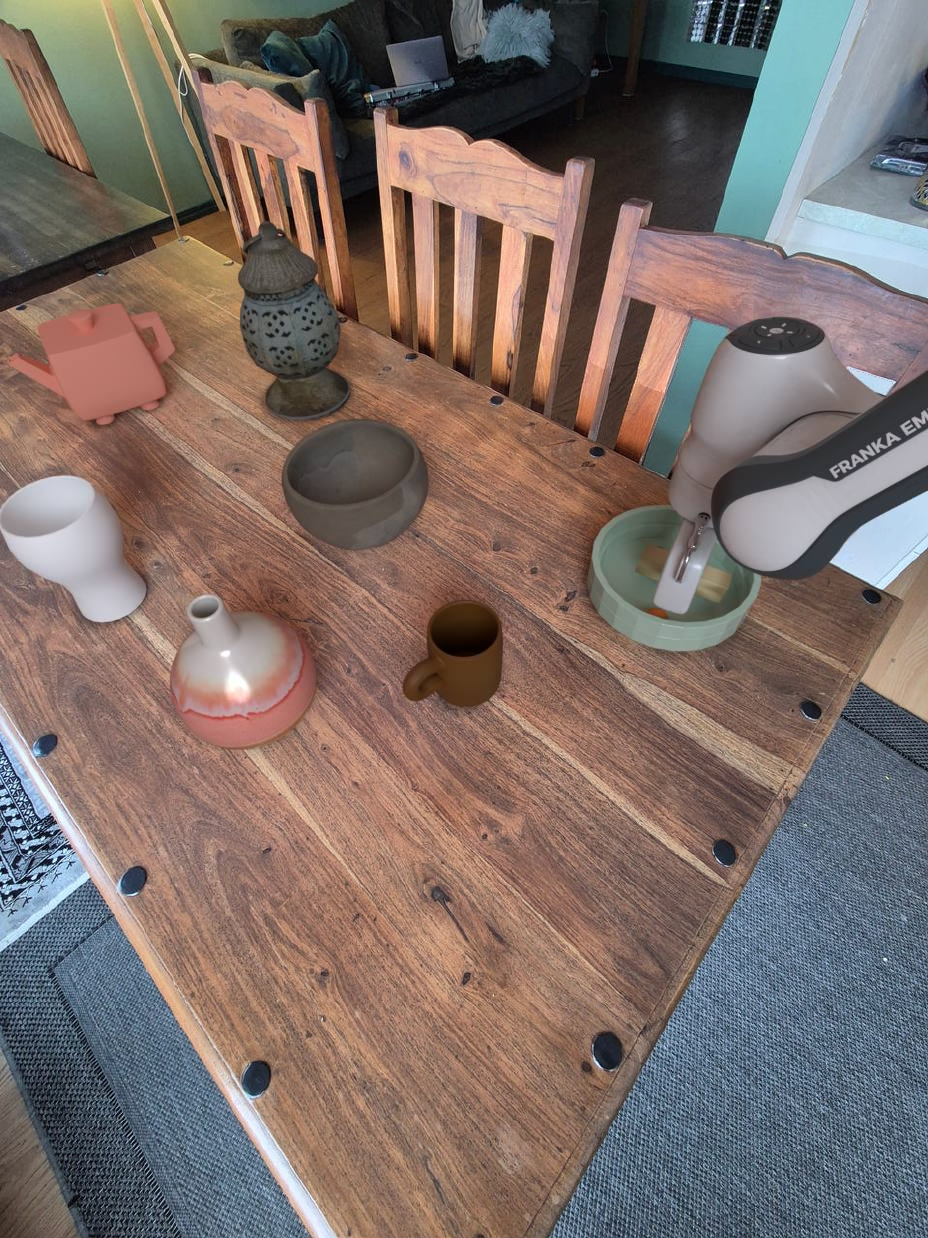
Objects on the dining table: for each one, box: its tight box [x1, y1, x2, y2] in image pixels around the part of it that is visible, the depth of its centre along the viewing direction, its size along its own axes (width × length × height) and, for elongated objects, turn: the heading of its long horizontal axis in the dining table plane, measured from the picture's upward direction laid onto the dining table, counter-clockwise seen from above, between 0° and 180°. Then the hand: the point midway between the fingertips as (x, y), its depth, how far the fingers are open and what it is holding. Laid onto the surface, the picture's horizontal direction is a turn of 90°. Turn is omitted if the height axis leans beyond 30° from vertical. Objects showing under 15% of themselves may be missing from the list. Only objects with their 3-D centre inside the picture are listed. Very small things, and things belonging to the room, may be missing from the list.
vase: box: [169, 593, 318, 751], centre depth 61 cm, size 14×14×18 cm
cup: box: [0, 474, 147, 623], centre depth 71 cm, size 11×11×15 cm
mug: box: [401, 599, 504, 708], centre depth 65 cm, size 12×8×9 cm, turn 136°
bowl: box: [281, 418, 429, 551], centre depth 81 cm, size 17×18×10 cm
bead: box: [645, 608, 669, 620], centre depth 71 cm, size 3×3×3 cm
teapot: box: [5, 302, 176, 426], centre depth 96 cm, size 22×13×14 cm, turn 121°
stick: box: [635, 543, 732, 604], centre depth 73 cm, size 10×2×3 cm, turn 64°
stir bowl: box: [586, 504, 762, 652], centre depth 74 cm, size 19×19×5 cm
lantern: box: [237, 220, 351, 422], centre depth 92 cm, size 14×14×25 cm
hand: (681, 577), depth 74 cm, fingers closed on stick, 2 cm apart
